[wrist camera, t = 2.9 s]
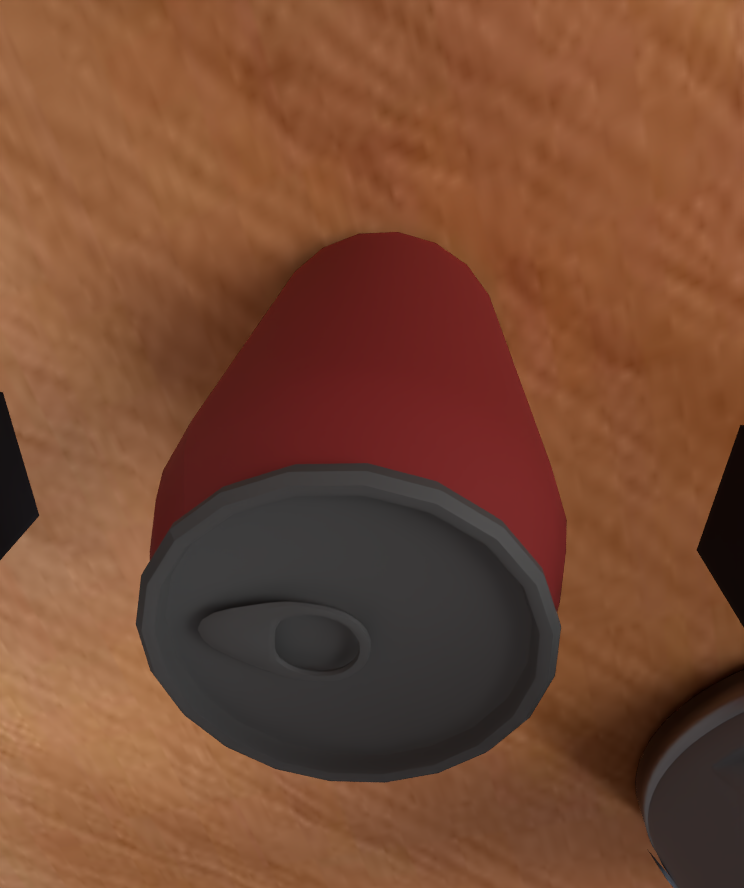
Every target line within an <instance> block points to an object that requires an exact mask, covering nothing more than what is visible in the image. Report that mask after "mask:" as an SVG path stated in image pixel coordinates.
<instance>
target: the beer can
mask: <svg viewBox="0 0 744 888" xmlns="http://www.w3.org/2000/svg"><path fill="white" fill-rule="evenodd" d="M566 523H567V520H566V516H565V513H564V509H563V506H562V502H561V499H560V496H559V492H558V489H557V485H556V482H555V478H554V475H553V471H552V468H551V465H550V462H549V459H548V456H547V454H546V451H545V448H544V445H543V443H542V440H541V437H540V434H539V432H538V429H537V426H536V423H535V421H534V418H533V415H532V412H531V410H530V407H529V404H528V401H527V399H526V396H525V393H524V390H523V388H522V385H521V382H520V379H519V377H518V374H517V371H516V368H515V366H514V363H513V360H512V357H511V355H510V352H509V349H508V346H507V344H506V341H505V338H504V335H503V333H502V330H501V327H500V324H499V322H498V319H497V316H496V313H495V311H494V308H493V305H492V302H491V300H490V297H489V295H488V293H487V292H486V291H485V289H484V288H483V286H482V285H481V284H480V282H479V281H478V280H477V278H476V277H475V275H474V274H473V273H472V271H471V270H470V269H469V267H468V266H467V265H466V264H465V263H463V262H462V261H460V260H459V259H458V258H456V257H455V256H453V255H452V254H450V253H449V252H448V251H446V250H445V249H443V248H442V247H440V246H439V245H438V244H436V243H434V242H430V241H427V240H423V239H420V238H416V237H413V236H410V235H406V234H403V233H399V232H390V233H366V234H357V235H355V236H352V237H349V238H347V239H344V240H342V241H339V242H337V243H334V244H331V245H329V246H326V247H324V248H322V249H321V250H320V251H319V252H317V253H316V254H315V255H314V256H313V257H312V258H310V259H309V260H308V261H307V262H306V263H305V264H303V265H302V266H301V267H300V268H299V269H297V270H296V271H295V272H294V274H293V275H292V277H291V278H290V279H289V281H288V282H287V284H286V285H285V287H284V288H283V290H282V291H281V292H280V294H279V295H278V297H277V298H276V300H275V301H274V303H273V304H272V305H271V307H270V308H269V310H268V311H267V313H266V314H265V316H264V317H263V318H262V320H261V321H260V323H259V324H258V326H257V327H256V329H255V330H254V331H253V333H252V334H251V336H250V337H249V339H248V340H247V342H246V343H245V344H244V346H243V347H242V349H241V350H240V352H239V353H238V355H237V356H236V357H235V359H234V360H233V362H232V363H231V365H230V366H229V367H228V369H227V370H226V372H225V373H224V375H223V376H222V378H221V379H220V380H219V382H218V383H217V385H216V386H215V388H214V389H213V391H212V392H211V393H210V395H209V396H208V398H207V399H206V401H205V402H204V404H203V405H202V406H201V408H200V409H199V411H198V412H197V414H196V415H195V417H194V418H193V419H192V421H191V423H190V424H189V426H188V428H187V430H186V431H185V433H184V435H183V437H182V438H181V440H180V442H179V444H178V445H177V447H176V449H175V451H174V452H173V454H172V456H171V458H170V459H169V461H168V463H167V465H166V466H165V468H164V470H163V473H162V477H161V481H160V485H159V489H158V494H157V498H156V504H155V512H154V521H153V529H152V538H151V546H150V562H149V563H148V565H147V566H146V568H145V570H144V572H143V573H142V575H141V583H140V592H139V601H138V610H137V619H136V626H137V629H138V632H139V635H140V639H141V642H142V645H143V648H144V651H145V655H146V658H147V661H148V664H149V667H150V671H151V672H152V673H153V674H154V676H155V677H156V678H157V680H158V681H159V682H160V684H161V685H162V686H163V688H164V689H165V690H166V692H167V693H168V694H169V696H170V697H171V698H172V700H173V701H174V702H175V704H176V705H177V706H178V708H179V709H180V710H181V711H182V713H183V714H184V715H185V716H186V717H188V718H189V719H190V720H192V721H193V722H194V723H196V724H197V725H198V726H200V727H201V728H202V729H204V730H205V731H206V732H207V733H209V734H210V735H211V736H213V737H214V738H215V739H217V740H218V741H219V742H221V743H222V744H223V745H225V746H226V747H228V748H230V749H232V750H235V751H237V752H239V753H241V754H244V755H246V756H248V757H250V758H252V759H255V760H257V761H259V762H261V763H264V764H266V765H268V766H270V767H273V768H275V769H278V770H283V771H287V772H292V773H296V774H301V775H305V776H310V777H314V778H319V779H323V780H328V781H350V782H390V781H396V780H401V779H407V778H413V777H418V776H424V775H429V774H435V773H439V772H442V771H444V770H446V769H449V768H451V767H453V766H456V765H458V764H460V763H463V762H465V761H467V760H470V759H472V758H474V757H477V756H479V755H481V754H484V753H486V752H487V751H489V750H490V749H491V748H493V747H494V746H495V745H496V744H498V743H499V742H500V741H501V740H503V739H504V738H505V737H506V736H507V735H509V734H510V733H511V732H512V731H514V730H515V729H516V728H517V727H519V726H520V725H521V724H522V723H523V722H525V721H526V720H527V719H528V718H530V716H531V715H532V713H533V711H534V710H535V708H536V706H537V705H538V703H539V701H540V700H541V698H542V696H543V695H544V693H545V691H546V690H547V688H548V686H549V685H550V683H551V681H552V680H553V678H554V676H555V671H556V663H557V655H558V647H559V639H560V631H561V625H560V621H559V618H558V615H557V610H558V607H559V603H560V596H561V588H562V579H563V571H564V563H565V554H566Z"/></svg>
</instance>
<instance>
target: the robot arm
mask: <svg viewBox="0 0 744 888" xmlns="http://www.w3.org/2000/svg"><path fill="white" fill-rule="evenodd" d="M38 516H39V513H38V510H37V506H36V503H35V499H34V496H33V493H32V489H31V486H30V483H29V479H28V476H27V472H26V469H25V466H24V462H23V459H22V455H21V452H20V449H19V445H18V442H17V439H16V435H15V432H14V428H13V425H12V422H11V418H10V415H9V411H8V408H7V405H6V401H5V398H4V395H3V392H0V560H1V559H2V558H3V557H4V555H5V554H6V553H7V552H8V551H9V550H10V549H11V547H12V546H13V545H14V544H15V543H16V542H17V541H18V539H19V538H20V537H21V536H22V535H23V534H24V532H25V531H26V530H27V529H28V528H29V527H30V526H31V524H32V523H33V522H34V521H35V520H36V519H37V518H38ZM697 551H698V553H699V555H700V556H701V558H702V560H703V561H704V563H705V565H706V566H707V568H708V569H709V571H710V573H711V574H712V576H713V578H714V579H715V581H716V583H717V584H718V586H719V588H720V589H721V591H722V592H723V594H724V596H725V597H726V599H727V601H728V602H729V604H730V606H731V607H732V609H733V611H734V612H735V614H736V615H737V617H738V619H739V620H740V622H741V624H742V625H743V627H744V425H740V428H739V431H738V434H737V436H736V439H735V442H734V445H733V448H732V451H731V454H730V456H729V459H728V462H727V465H726V468H725V471H724V474H723V476H722V479H721V482H720V485H719V488H718V491H717V494H716V496H715V499H714V502H713V505H712V508H711V511H710V514H709V516H708V519H707V522H706V525H705V528H704V531H703V534H702V536H701V539H700V542H699V545H698V548H697ZM635 785H636V796H637V800H638V804H639V807H640V811H641V814H642V817H643V820H644V823H645V827H646V830H647V833H648V836H649V839H650V841H651V844H652V846H653V848H654V849H655V851H656V853H657V855H658V857H659V859H660V861H661V863H662V865H663V867H664V868H665V870H666V871H667V872H666V871H665V870H664V869H663V867H662V866H661V865H660V864H659V863H658V861H657V860H656V859H655V858H654V857H653V855H652V854H651V853H650V852H649V853H650V854H651V856H652V857H653V859H654V860H655V862H656V864H657V865H658V867H659V868H660V870H661V871H662V873H663V874H664V876H665V877H666V879H667V880H668V881H669V883H670V884H671V885H672V886H673V887H674V888H744V670H742V671H740V672H738V673H735V674H733V675H731V676H729V677H727V678H725V679H723V680H721V681H720V682H718V683H716V684H714V685H712V686H711V687H709V688H707V689H706V690H704V691H702V692H701V693H699V694H698V695H696V696H695V697H693V698H692V699H691V700H689V701H688V702H687V703H685V704H684V705H683V706H682V707H680V708H679V709H678V710H677V711H676V712H675V713H673V714H672V715H671V716H670V717H669V718H668V719H667V720H666V721H665V722H664V723H663V724H662V726H661V727H660V728H659V729H658V730H657V732H656V733H655V734H654V736H653V737H652V738H651V740H650V741H649V743H648V745H647V746H646V748H645V750H644V752H643V754H642V757H641V759H640V761H639V765H638V769H637V773H636V781H635ZM647 850H648V849H647ZM668 874H669V875H670V876H669V875H668Z"/></svg>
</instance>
